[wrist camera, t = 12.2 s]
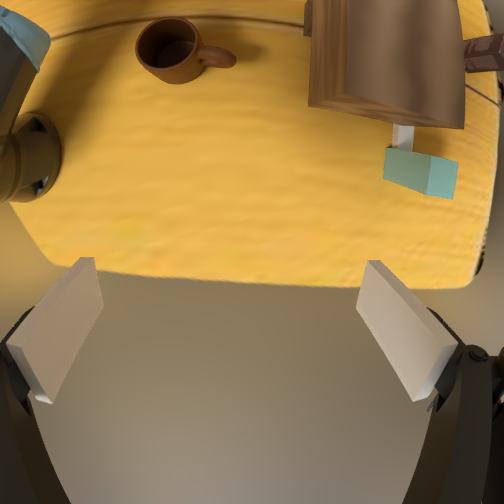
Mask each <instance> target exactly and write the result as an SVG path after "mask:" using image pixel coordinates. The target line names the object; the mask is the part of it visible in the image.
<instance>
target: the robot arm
mask: <svg viewBox="0 0 504 504" xmlns="http://www.w3.org/2000/svg"><path fill="white" fill-rule="evenodd" d="M50 44H51V39H50V36H49V34H48V33H47V32H46V31H45V30H44V29H42V28H41V27H40V26H38V25H37V24H35V23H34V22H32V21H31V20H29V19H27V18H26V17H24V16H22V15H20V14H18V13H16V12H14V11H11V10H9V9H6V8H5V7H3V6H0V203H2V202H4V201H9V202H20V203H25V202H30V201H33V200H35V199H37V198H40V197H41V196H43V195H44V194H45V193H46V192H47V191H48V190H49V189H50V188H51V186H52V185H53V183H54V181H55V179H56V177H57V174H58V170H59V166H60V159H61V147H60V140H59V136H58V133H57V131H56V129H55V127H54V125H53V124H52V122H51V121H50V120H49V119H48V118H47V117H45V116H43V115H41V114H37V113H26V114H21V115H19V116H18V113H19V111H20V109H21V106H22V104H23V102H24V99H25V97H26V95H27V93H28V91H29V88H30V86H31V84H32V82H33V80H34V78H35V76H36V74H38V73H39V71H40V66H41V64H42V62H43V60H44V58H45V56H46V54H47V52H48V50H49V48H50ZM103 307H104V304H103V300H102V295H101V291H100V286H99V281H98V277H97V271H96V266H95V261H94V257H81V258H80V259H79V260H78V261H77V262H76V263H75V264H74V265H73V266H72V267H71V268H70V269H69V270H68V271H67V272H66V273H65V274H64V275H63V276H62V277H61V278H60V279H59V280H58V281H57V283H56V284H55V285H54V286H53V287H52V288H51V289H50V290H49V291H48V293H47V294H46V295H45V296H44V297H43V298H42V299H41V300H40V301H39V303H38V304H37V305H36V306H34V307H32V308H31V309H29V310H28V311H26V312H25V313H24V314H23V315H22V317H21V318H20V319H19V321H18V322H17V323H16V324H15V325H14V327H12V329H11V330H10V331H9V332H8V334H7V335H6V336H5V338H4V339H3V340H2V342H1V343H0V504H71V503H70V501H69V499H68V497H67V495H66V493H65V491H64V489H63V487H62V485H61V483H60V481H59V479H58V477H57V474H56V472H55V470H54V467H53V465H52V463H51V461H50V458H49V455H48V453H47V450H46V448H45V445H44V442H43V440H42V437H41V434H40V431H39V428H38V425H37V422H36V419H35V415H34V412H33V409H32V405H31V401H30V400H29V398H28V396H27V395H28V393H29V391H30V389H31V391H32V392H33V394H34V396H35V397H36V399H37V400H40V401H43V402H47V403H50V404H53V402H54V399H55V397H56V395H57V393H58V391H59V389H60V387H61V385H62V383H63V381H64V379H65V376H66V375H67V372H68V371H69V369H70V367H71V365H72V363H73V361H74V359H75V357H76V355H77V353H78V351H79V349H80V347H81V346H82V344H83V342H84V340H85V339H86V337H87V335H88V333H89V331H90V330H91V328H92V326H93V324H94V322H95V321H96V319H97V317H98V316H99V314H100V312H101V311H102V309H103ZM356 309H357V311H358V312H359V314H360V315H361V317H362V318H363V320H364V321H365V323H366V325H367V326H368V328H369V329H370V331H371V332H372V334H373V336H374V337H375V339H376V340H377V342H378V343H379V345H380V347H381V348H382V350H383V352H384V353H385V355H386V357H387V358H388V360H389V362H390V363H391V365H392V367H393V368H394V370H395V372H396V373H397V375H398V377H399V378H400V380H401V382H402V383H403V385H404V387H405V389H406V390H407V392H408V394H409V396H410V397H411V399H412V401H416V400H420V399H423V398H426V397H428V396H429V394H430V393H431V391H432V390H433V388H434V386H435V388H436V389H437V391H438V393H437V395H436V397H435V398H434V400H433V401H432V403H431V404H430V406H429V407H428V409H427V411H428V412H429V410H430V409H431V408H432V407H433V408H432V413H431V417H430V422H429V426H428V429H427V433H426V437H425V440H424V444H423V447H422V450H421V454H420V457H419V460H418V463H417V466H416V469H415V472H414V475H413V478H412V480H411V483H410V485H409V488H408V491H407V493H406V496H405V498H404V500H403V503H402V504H481V501H482V504H504V402H503V403H501V400H500V398H501V397H502V396H503V394H504V347H503V348H502V350H501V351H500V353H499V355H498V356H489V355H488V354H487V352H486V351H485V350H484V349H482V348H481V347H479V346H476V345H467V346H466V345H465V344H464V343H463V342H462V340H461V339H460V338H459V337H458V336H457V335H456V334H455V332H454V331H453V330H452V329H451V328H450V327H448V325H447V324H446V323H445V322H443V319H442V318H441V317H440V316H439V315H438V314H437V313H436V312H434V311H433V310H431V309H429V308H428V307H425V306H424V304H423V303H422V302H421V301H420V300H419V299H418V298H417V297H416V296H415V295H414V294H413V293H412V292H411V291H410V290H409V289H408V288H407V287H406V286H405V285H404V284H403V283H402V282H401V281H400V280H399V279H398V278H397V277H396V276H395V275H394V274H393V273H392V272H391V271H390V270H389V269H388V268H387V267H386V266H385V265H384V264H383V263H382V262H381V261H380V260H367V262H366V267H365V271H364V276H363V280H362V284H361V288H360V293H359V297H358V301H357V305H356Z"/></svg>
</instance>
